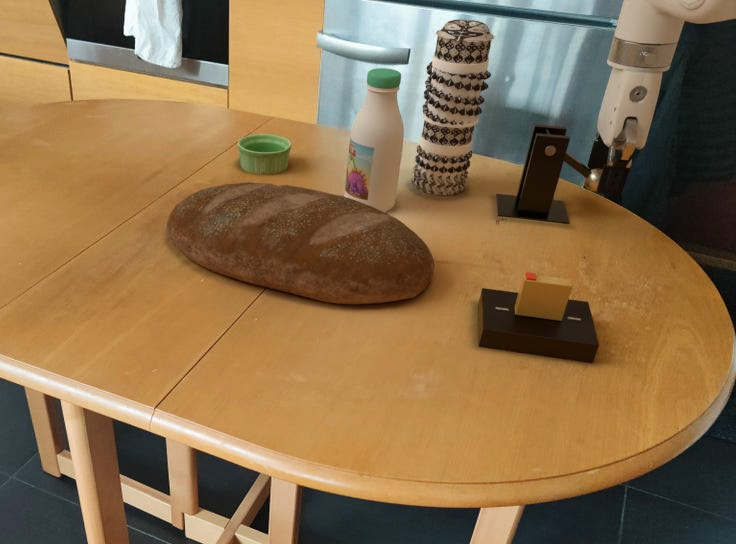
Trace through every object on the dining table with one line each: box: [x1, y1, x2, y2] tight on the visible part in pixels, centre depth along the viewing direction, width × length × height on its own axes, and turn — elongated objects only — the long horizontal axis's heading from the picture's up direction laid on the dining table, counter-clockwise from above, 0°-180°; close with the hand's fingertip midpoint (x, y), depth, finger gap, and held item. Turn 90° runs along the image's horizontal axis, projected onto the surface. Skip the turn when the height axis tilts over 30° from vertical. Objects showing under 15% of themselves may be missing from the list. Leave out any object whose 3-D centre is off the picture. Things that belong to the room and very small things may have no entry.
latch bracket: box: [495, 123, 571, 225], centre depth 104 cm, size 10×8×13 cm
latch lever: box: [542, 129, 602, 192], centre depth 102 cm, size 12×3×3 cm, turn 76°
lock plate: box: [477, 287, 600, 364], centre depth 81 cm, size 12×9×3 cm
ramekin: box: [237, 133, 292, 175], centre depth 120 cm, size 9×9×4 cm
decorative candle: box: [411, 18, 495, 197], centre depth 107 cm, size 9×9×25 cm
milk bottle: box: [343, 67, 405, 214], centre depth 103 cm, size 8×8×20 cm
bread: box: [165, 181, 436, 305], centre depth 93 cm, size 22×37×8 cm, turn 62°
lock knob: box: [514, 271, 573, 321], centre depth 79 cm, size 5×2×5 cm, turn 76°
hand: (603, 180), depth 102 cm, fingers open, 9 cm apart
